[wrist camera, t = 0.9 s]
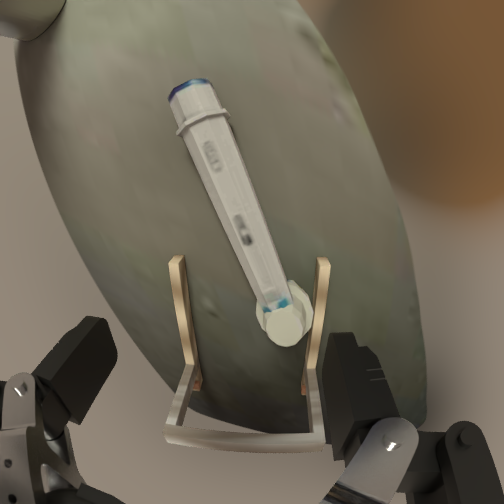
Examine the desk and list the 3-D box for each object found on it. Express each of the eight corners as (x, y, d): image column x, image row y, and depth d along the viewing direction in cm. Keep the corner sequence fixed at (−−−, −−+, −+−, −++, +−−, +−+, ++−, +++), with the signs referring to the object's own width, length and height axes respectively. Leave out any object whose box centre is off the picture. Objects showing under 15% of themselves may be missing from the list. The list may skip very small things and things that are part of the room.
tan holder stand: (172, 255, 27) (117, 326, 16) (329, 257, 26) (365, 336, 15) (193, 379, 34) (171, 454, 23) (310, 383, 33) (318, 462, 22)
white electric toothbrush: (211, 67, 17) (324, 355, 22) (228, 92, 24) (317, 319, 29) (152, 98, 18) (267, 371, 23) (181, 114, 25) (271, 333, 30)
